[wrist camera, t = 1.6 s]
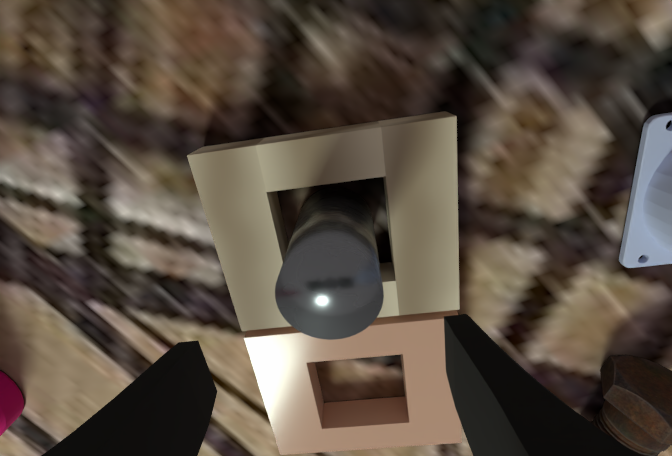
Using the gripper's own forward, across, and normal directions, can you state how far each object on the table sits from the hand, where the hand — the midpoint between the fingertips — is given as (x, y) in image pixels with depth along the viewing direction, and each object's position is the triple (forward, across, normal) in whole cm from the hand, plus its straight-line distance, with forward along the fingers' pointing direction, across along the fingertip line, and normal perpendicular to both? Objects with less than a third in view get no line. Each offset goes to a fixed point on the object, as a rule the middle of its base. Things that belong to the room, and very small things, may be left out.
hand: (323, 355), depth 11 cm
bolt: (+10, -15, +19) cm, 26 cm away
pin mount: (+10, 0, 0) cm, 10 cm away
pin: (+10, 0, 0) cm, 10 cm away
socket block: (+10, 0, +10) cm, 15 cm away
